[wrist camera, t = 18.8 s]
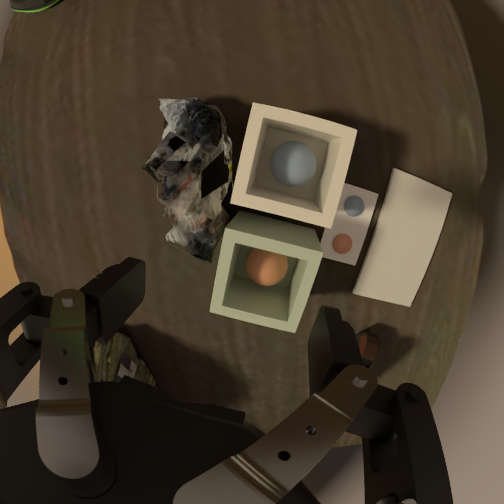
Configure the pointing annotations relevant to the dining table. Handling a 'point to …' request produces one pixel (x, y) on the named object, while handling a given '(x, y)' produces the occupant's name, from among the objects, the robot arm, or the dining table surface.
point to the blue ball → (293, 163)
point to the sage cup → (258, 296)
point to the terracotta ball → (266, 266)
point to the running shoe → (31, 5)
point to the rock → (120, 361)
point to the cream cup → (287, 197)
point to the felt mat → (403, 239)
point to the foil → (191, 174)
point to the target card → (349, 225)
